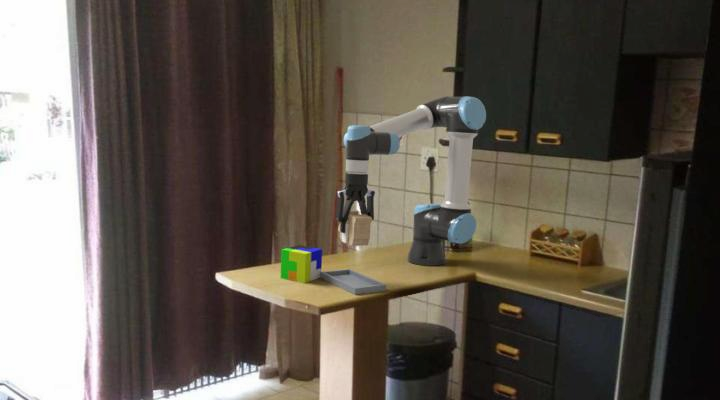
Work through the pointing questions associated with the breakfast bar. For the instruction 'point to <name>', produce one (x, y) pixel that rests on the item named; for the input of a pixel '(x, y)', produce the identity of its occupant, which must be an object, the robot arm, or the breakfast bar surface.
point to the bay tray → (353, 281)
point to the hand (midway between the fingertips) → (353, 241)
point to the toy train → (358, 228)
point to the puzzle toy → (301, 263)
